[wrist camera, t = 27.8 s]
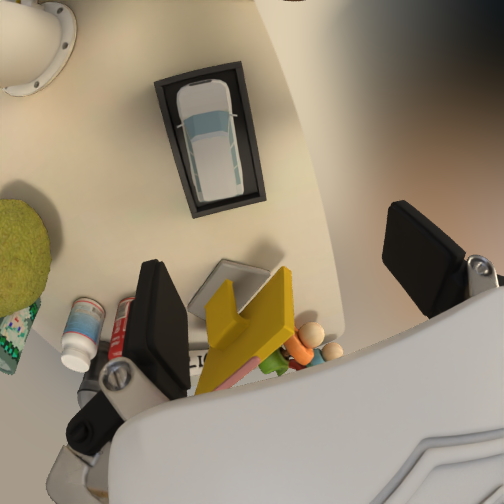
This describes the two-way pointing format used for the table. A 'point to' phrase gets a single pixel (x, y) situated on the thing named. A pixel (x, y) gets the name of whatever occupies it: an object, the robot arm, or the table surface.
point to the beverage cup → (93, 375)
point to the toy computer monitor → (241, 321)
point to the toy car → (210, 139)
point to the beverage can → (119, 329)
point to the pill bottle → (82, 334)
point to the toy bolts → (301, 351)
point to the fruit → (21, 256)
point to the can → (15, 336)
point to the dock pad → (243, 130)
